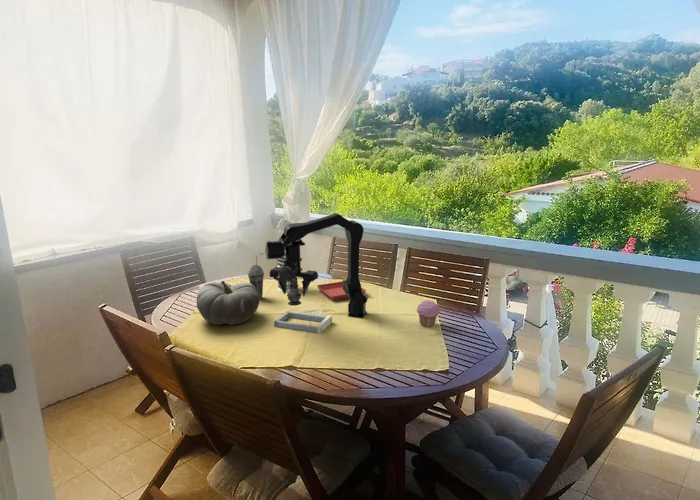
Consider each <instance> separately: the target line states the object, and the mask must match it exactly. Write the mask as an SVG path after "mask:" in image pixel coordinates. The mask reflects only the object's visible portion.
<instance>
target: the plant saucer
mask: <svg viewBox="0 0 700 500" xmlns="http://www.w3.org/2000/svg"><path fill="white" fill-rule="evenodd" d="M316 287H317V289H319V291H320V292H321V293H323V294H324V295H325V296H326V297H328V298H329V299H330V300H331V301H332V302H333V301H334V302H335V301H340V300H347V299H350V298H349V296H348V295H347V294H346V293H345V292H344V290H343V289H342V288H343V280H342V281H337V282H329V283H322V284H317V285H316ZM361 288H362V294H363V295H365V293H366V292H367V290H366V289H365V288H363V287H362V286H361Z"/></svg>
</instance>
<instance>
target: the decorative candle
mask: <svg viewBox="0 0 700 500" xmlns="http://www.w3.org/2000/svg"><path fill="white" fill-rule="evenodd" d="M277 241H279V239H278V240H277ZM284 249H285V247H284ZM276 260H277V261H276V265H277V266H276V267H283V266H284V261H285V260H286V253H285V255H284V257H282V258H277V259H276ZM289 285H290V281H287V280H286V293H290V286H289ZM277 288H278V289H277V290H278V291H279V292H282V293H283V291H282V288H281V286H280V284H279V282H278V281H277Z"/></svg>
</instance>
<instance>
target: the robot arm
mask: <svg viewBox="0 0 700 500" xmlns="http://www.w3.org/2000/svg"><path fill="white" fill-rule="evenodd" d="M336 225H337V226H340V227H341V228H343V229H344V232H345V233H344V234H345V237H346V239H347V240H346V241H347V243H348V245H347V248H348V249H347V277H346V279H343V280H342V281H343V288H342V289H343V290H344V292H345V293H346V294H347V295H348V296H349V298H348V299H350V300H349V301H348V305H347V309H348V310H347V311H348V314H347V316H348V317H353V318H359V319H360V318H361V319H362V318H364V317H365V315H367V313H368V311H366V310H367V309H366V308H367V302H368V299H369V298H368V297H366V295H365V294H362V288H363V287H362V284H361V281H360V277H359V275H360V274H359V273H360V244H361V241H362V239H363V236H364V227H363V225H362V224H361V223H359V222H358V221H356V220H349V219H347V218H346V217H343V216H342V215H341V214H339V213H337V212H334V213H332V214H329V215H327V216H324V217H319V218H316V219H314V220H310V221H307V222H293V223H288V224H286V225H285V226H284V228H283V232H282V234H281V235H280V237H279V239H278V240H279V241H278V240H275V241H272V240H271V241H270V240H268V241H265V242H266V244H265V249H264V250H265V258H266V260H277V258H282V257H284V255H285V253H286V260H285V261H284V266H283V267H277V266H275V267H273V268H271V269H270V271H269V277H270V278H273V280H276V281H277V283H278V282H279V284H280V286H281V288H282V291H283V292H282V291H281V292H282V293H283V294H284V295H286V294H287V292H286V280H287V281H290V280H291V279H292V278H293V277H297V278H302V281H301V284H302V297H305V296H306V293H307V291H308V289H309V286H310V284H311V283H312V282H314V281H316V280H317V279H318V278H319V273H318V271H316V270H310V269H308V270H306V271H305V272H302V271H303V267H302V265H301V264H302V263H301V262H302V261H303V258H302V257H301V247H302V246H305V245H306V243H305V242H304V241H303V240H302V239H303V238H304V237H306V236H307V235H309V234H311V233H314V232H317V231H320V230H323V229H327V228H330V227H334V226H336ZM284 247H285V249H284ZM361 287H362V288H361Z"/></svg>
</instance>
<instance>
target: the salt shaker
mask: <svg viewBox="0 0 700 500" xmlns="http://www.w3.org/2000/svg"><path fill="white" fill-rule="evenodd" d="M289 286H290V292H287V293H286V296H287V299H288V302H287V304H288V305H289V306H291V307H292V306H295V307H296V306H299V305H301V304H302V302H301V301H300V300H301V298H302V296H303V293H301V292H299V284H298V277H293V278H292V279H291V280H290V285H289Z"/></svg>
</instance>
